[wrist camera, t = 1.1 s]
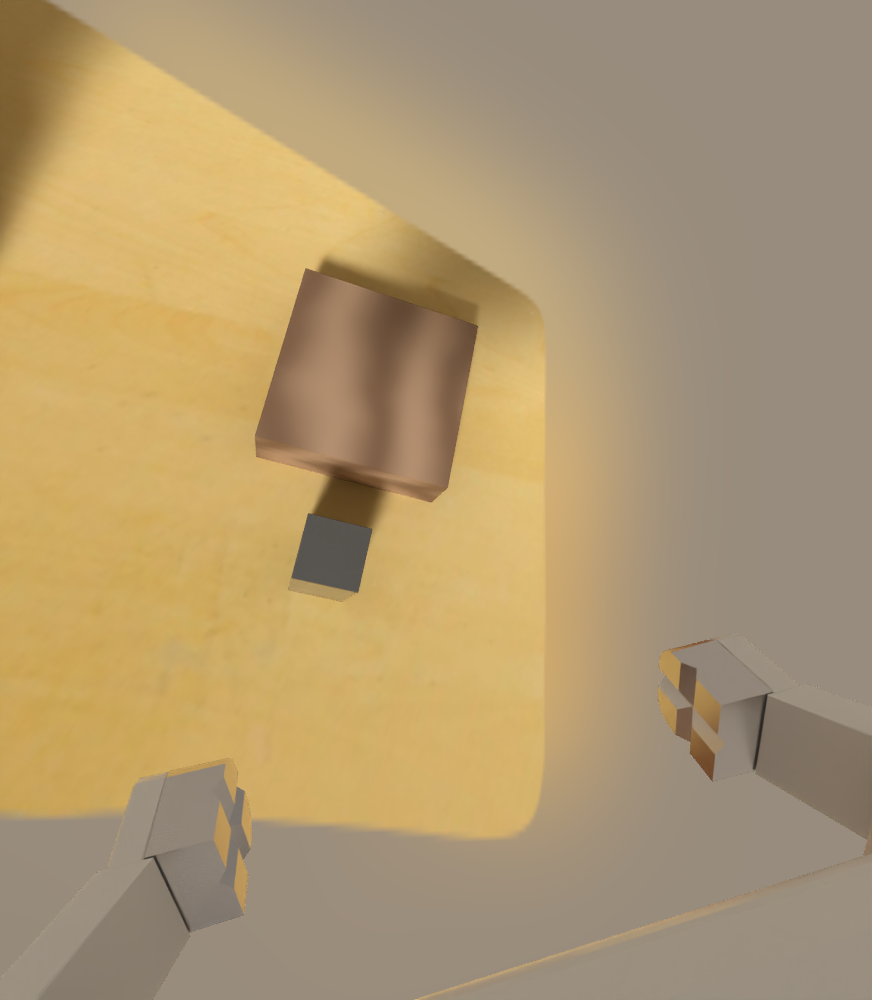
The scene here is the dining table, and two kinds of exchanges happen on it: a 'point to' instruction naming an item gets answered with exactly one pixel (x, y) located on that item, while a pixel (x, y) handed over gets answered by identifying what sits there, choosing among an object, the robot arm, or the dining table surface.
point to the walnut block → (367, 389)
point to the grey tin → (330, 558)
